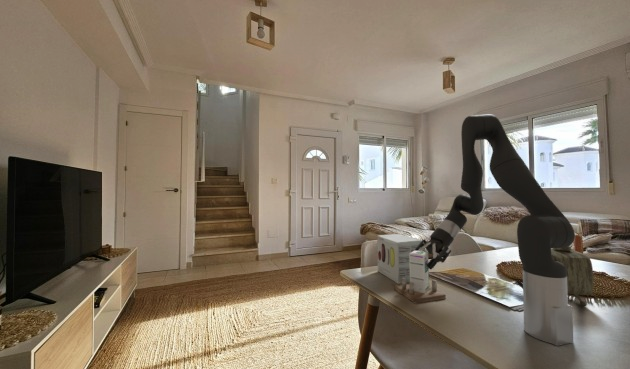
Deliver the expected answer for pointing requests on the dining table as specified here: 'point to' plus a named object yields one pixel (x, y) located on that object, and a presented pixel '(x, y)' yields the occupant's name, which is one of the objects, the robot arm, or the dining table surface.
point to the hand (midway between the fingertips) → (421, 264)
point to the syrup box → (419, 271)
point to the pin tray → (417, 296)
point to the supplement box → (395, 255)
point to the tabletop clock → (575, 271)
